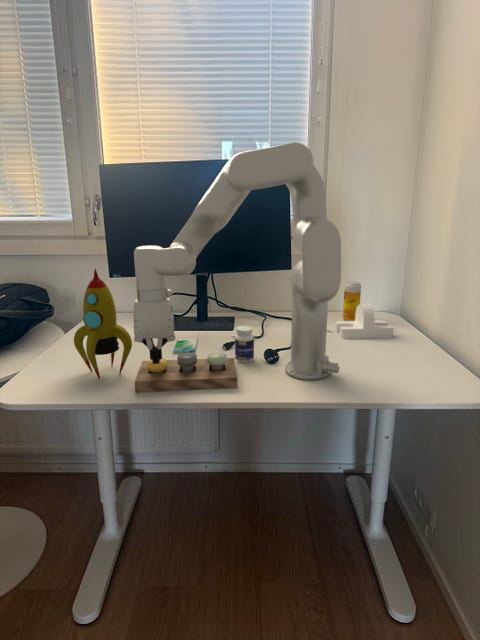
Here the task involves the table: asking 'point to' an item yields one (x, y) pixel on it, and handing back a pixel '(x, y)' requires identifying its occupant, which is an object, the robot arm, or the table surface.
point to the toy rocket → (100, 326)
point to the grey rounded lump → (187, 361)
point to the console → (187, 377)
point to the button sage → (217, 360)
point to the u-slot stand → (364, 325)
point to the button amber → (157, 366)
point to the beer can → (351, 299)
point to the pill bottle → (244, 344)
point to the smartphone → (185, 345)
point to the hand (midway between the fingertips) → (156, 361)
